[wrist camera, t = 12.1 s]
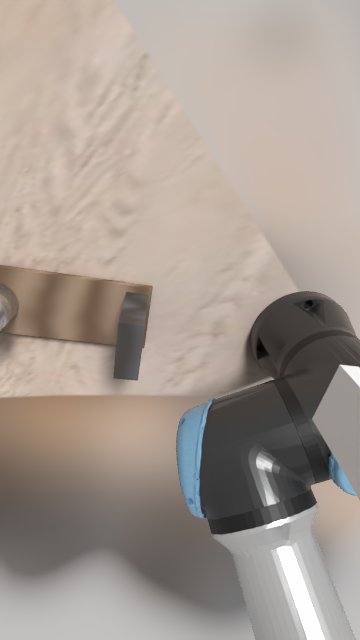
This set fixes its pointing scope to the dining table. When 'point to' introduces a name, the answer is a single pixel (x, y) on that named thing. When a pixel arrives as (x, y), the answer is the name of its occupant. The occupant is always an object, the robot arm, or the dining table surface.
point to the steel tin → (7, 305)
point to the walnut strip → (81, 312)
